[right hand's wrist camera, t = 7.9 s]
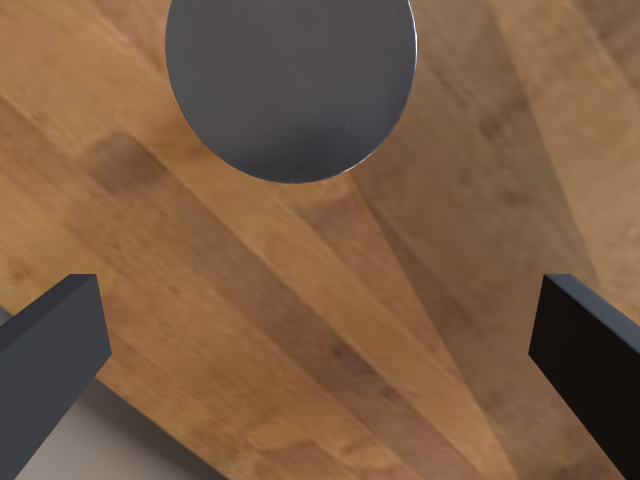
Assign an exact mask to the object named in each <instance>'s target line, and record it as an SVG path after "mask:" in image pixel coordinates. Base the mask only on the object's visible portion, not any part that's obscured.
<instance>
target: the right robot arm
mask: <svg viewBox="0 0 640 480" xmlns="http://www.w3.org/2000/svg"><path fill="white" fill-rule="evenodd" d="M111 354H112V352H111V347H110V342H109V337H108V332H107V327H106V322H105V317H104V312H103V307H102V302H101V297H100V292H99V287H98V282H97V277H96V274H69V275H68V276H67V277H65V278H64V279H63V280H61V281H60V282H59V283H57V284H56V285H55V286H53V287H52V288H51V289H49V290H48V291H47V292H45V293H44V294H43V295H42V296H40V297H39V298H38V299H36V300H35V301H34V302H32V303H31V304H30V305H28V306H27V307H26V308H24V309H23V310H22V311H20V312H19V313H18V314H16V315H15V316H14V317H12V318H11V319H10V320H8V321H7V322H6V323H4V324H3V325H2V326H0V480H14V479H15V478H16V477H17V475H18V474H19V473H20V471H21V470H22V469H23V468H24V466H25V465H26V464H27V462H28V461H29V460H30V459H31V457H32V456H33V455H34V453H35V452H36V451H37V450H38V448H39V447H40V446H41V444H42V443H43V442H44V441H45V439H46V438H47V437H48V435H49V434H50V433H51V432H52V430H53V429H54V428H55V426H56V425H57V424H58V423H59V421H60V420H61V419H62V417H63V416H64V415H65V414H66V412H67V411H68V410H69V408H70V407H71V406H72V405H73V403H74V402H75V401H76V399H77V398H78V397H79V396H80V394H81V393H82V392H83V390H84V389H85V388H86V387H87V385H88V384H89V383H90V381H91V380H92V379H93V378H94V376H95V375H96V374H97V372H98V371H99V370H100V369H101V367H102V366H103V365H104V363H105V362H106V361H107V360H108V358H109V357H110V356H111ZM528 354H529V356H530V357H531V358H532V360H533V361H534V362H535V363H536V365H537V366H538V367H539V369H540V370H541V371H542V372H543V374H544V375H545V376H546V378H547V379H548V380H549V381H550V383H551V384H552V385H553V387H554V388H555V389H556V390H557V392H558V393H559V394H560V396H561V397H562V398H563V399H564V401H565V402H566V403H567V405H568V406H569V407H570V408H571V410H572V411H573V412H574V414H575V415H576V416H577V417H578V419H579V420H580V421H581V423H582V424H583V425H584V426H585V428H586V429H587V430H588V432H589V433H590V434H591V435H592V437H593V438H594V439H595V441H596V442H597V443H598V444H599V446H600V447H601V448H602V450H603V451H604V452H605V453H606V455H607V456H608V457H609V459H610V460H611V461H612V462H613V464H614V465H615V466H616V468H617V469H618V470H619V471H620V473H621V474H622V475H623V477H624V478H625V479H626V480H640V326H638V325H637V324H636V323H634V322H633V321H632V320H630V319H629V318H628V317H626V316H625V315H624V314H622V313H621V312H620V311H618V310H617V309H616V308H614V307H613V306H612V305H610V304H609V303H608V302H606V301H605V300H604V299H602V298H601V297H600V296H598V295H597V294H596V293H595V292H593V291H592V290H591V289H589V288H588V287H587V286H585V285H584V284H583V283H581V282H580V281H579V280H577V279H576V278H575V277H573V276H572V275H571V274H544V277H543V282H542V287H541V292H540V297H539V302H538V307H537V312H536V317H535V322H534V327H533V332H532V337H531V342H530V347H529V352H528Z"/></svg>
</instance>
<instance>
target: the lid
mask: <svg viewBox="0 0 640 480" xmlns="http://www.w3.org/2000/svg"><path fill="white" fill-rule="evenodd" d="M165 49H166V60H167V68H168V73H169V78H170V82H171V86H172V89H173V92H174V95H175V97H176V100H177V102H178V104H179V107H180V109H181V111H182V113H183V115H184V117H185V118H186V120H187V121H188V123H189V125H190V126H191V128H192V129H193V131H194V132H195V133H196V134H197V136H198V137H199V138H200V139H201V141H202V142H203V143H204V144H205V145H206V146H207V147H208V148H209V149H210V150H211V151H212V152H213V153H215V154H216V155H217V156H218V157H220V158H221V159H222V160H224V161H225V162H226V163H228V164H229V165H231V166H233V167H235V168H236V169H238V170H240V171H242V172H244V173H246V174H249V175H251V176H253V177H256V178H260V179H263V180H267V181H272V182H278V183H289V184H301V183H310V182H316V181H320V180H325V179H328V178H331V177H334V176H336V175H339V174H342V173H344V172H345V171H347V170H349V169H351V168H353V167H355V166H356V165H358V164H359V163H360V162H362V161H363V160H365V159H366V158H367V157H369V156H370V155H371V154H372V153H373V152H374V151H375V150H376V149H377V148H378V147H379V146H380V145H381V144H382V143H383V142H384V140H385V139H386V138H387V137H388V136H389V135H390V133H391V131H392V130H393V128H394V127H395V125H396V124H397V122H398V121H399V119H400V117H401V115H402V113H403V111H404V108H405V106H406V104H407V101H408V98H409V95H410V92H411V89H412V85H413V80H414V76H415V69H416V59H417V42H416V31H415V24H414V18H413V14H412V11H411V7H410V4H409V0H172V2H171V6H170V9H169V13H168V20H167V26H166V45H165Z"/></svg>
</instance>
